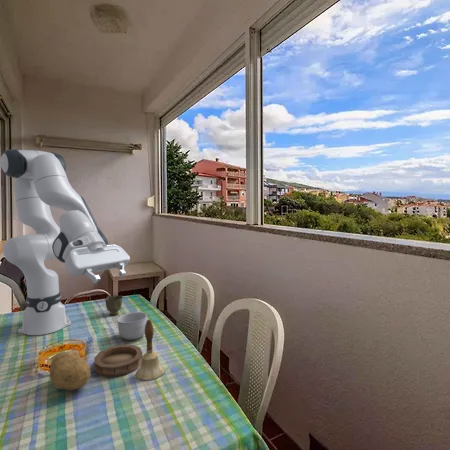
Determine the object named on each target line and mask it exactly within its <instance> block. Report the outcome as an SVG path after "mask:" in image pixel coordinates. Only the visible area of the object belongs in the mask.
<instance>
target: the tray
mask: <svg viewBox="0 0 450 450" xmlns="http://www.w3.org/2000/svg"><path fill="white" fill-rule="evenodd" d="M142 356H143V350H142V349H141V347H139V346H136V345H134V344H119V345H115V346H111V347H107V348H105V349H103V350H101V351H100V352H98V353H97V354H96V355H95V356H94V357H93V362H94V363H93V364H94V372H95V373H96V374H97V375H98V376H100V377H102V378H103V377H104V378H117V377H122V376H125V375H129V374H131V373H133V372H135V371H137V370H138V369H139V368H140V366H141V363H142Z"/></svg>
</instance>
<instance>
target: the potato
mask: <svg viewBox="0 0 450 450" xmlns="http://www.w3.org/2000/svg"><path fill="white" fill-rule="evenodd" d="M49 376H50V380H51V383H52V384H53V387H54V388H57V389H60V390H65V391H74V390H78V389H81V388H83V386H85V385H87V383H88V381H89V379H90V378H91V368H90V365H89V363H88V361H87V360H86V359H85V358H83V357H82V356H79V355H77V354H74V353H71V352H65V353H60V354H58V355H56V356H55V357H54V358H53V359H52V361H51V363H50V366H49Z"/></svg>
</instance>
